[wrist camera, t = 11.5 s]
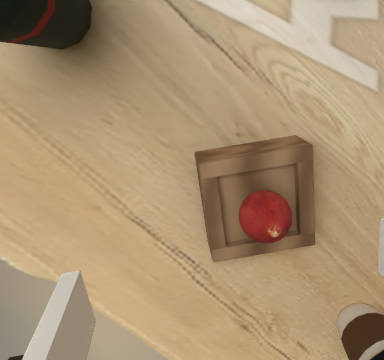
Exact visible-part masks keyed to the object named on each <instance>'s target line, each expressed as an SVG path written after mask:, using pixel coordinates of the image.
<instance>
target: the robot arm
mask: <svg viewBox="0 0 384 360" xmlns="http://www.w3.org/2000/svg"><path fill="white" fill-rule="evenodd" d="M378 272H379V273H380V274H381V275H382V276H383V277H384V218H380V236H379V255H378ZM95 323H96V320H95V317H94V314H93V311H92V307H91V304H90V301H89V298H88V295H87V291H86V288H85V285H84V282H83V278H82V275H81V272H80V271H74V272H68V273H63V274H62V275H61V277H60V279H59V281H58V283H57V285H56V288H55V290H54V292H53V294H52V297H51V299H50V300H49V303H48V305H47V307H46V309H45V311H44V313H43V316H42V318H41V320H40V322H39V324H38V327H37V329H36V331H35V333H34V335H33V337H32V339H31V342H30V344H29V346H28V348H27V350H26V352H25V354H24V355H21V356H15V357H10V358H9V359H8V360H86V359H87V354H88V351H89V346H90V343H91V339H92V335H93V331H94V327H95Z"/></svg>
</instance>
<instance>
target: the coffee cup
mask: <svg viewBox="0 0 384 360" xmlns="http://www.w3.org/2000/svg"><path fill="white" fill-rule="evenodd" d="M337 328H338V331H339V334H340V336H341V340H342V343H343V346H344V349H345V351H346V353H347V356H348V358H349V360H384V315H382V314H381V313H379V312H378V311H377V310H376V309H375V308H373V307H372V306H369V305H366V304H363V303H355V304H352V305H349V306H347V307H346V308H345V309H343V310H342V311H341V313H340V314H339V316H338V319H337Z"/></svg>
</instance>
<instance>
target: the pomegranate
mask: <svg viewBox="0 0 384 360" xmlns="http://www.w3.org/2000/svg"><path fill="white" fill-rule="evenodd" d="M239 222H240V225H241V228H242V230H243V231H244V233H246V234H247V235H248V236H249V237H250V238H251V239H253V240H255V241H258V242H260V243H273V242H276V241H279V240H281V239H282V238H283V237H284V236H286V235H287V233H288V231H289V229H290V227H291V226H292V210H291V208H290V206H289V204H288V202H287V201H286V200H285V199H284V198H283V197H282V196H281V195H280V194H278V193H276V192H273V191H270V190H259V191H256V192H254V193H252V194H250V195H249V196H248V197H246V198H245V199H244V201H243V203H242V205H241V207H240V209H239Z"/></svg>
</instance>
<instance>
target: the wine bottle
mask: <svg viewBox="0 0 384 360" xmlns="http://www.w3.org/2000/svg"><path fill="white" fill-rule="evenodd" d="M91 10H92V7H91V4H90V2H89V0H0V42H7V43H15V44H23V45H31V46H40V47H48V48H56V49H64V48H66V47H69V46H72V45H74V44H77V43H79V42H80V41H81V39H82V38H83V36H84V35H85V34H86V32H87V31H88V30H89V28H90V21H91Z"/></svg>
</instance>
